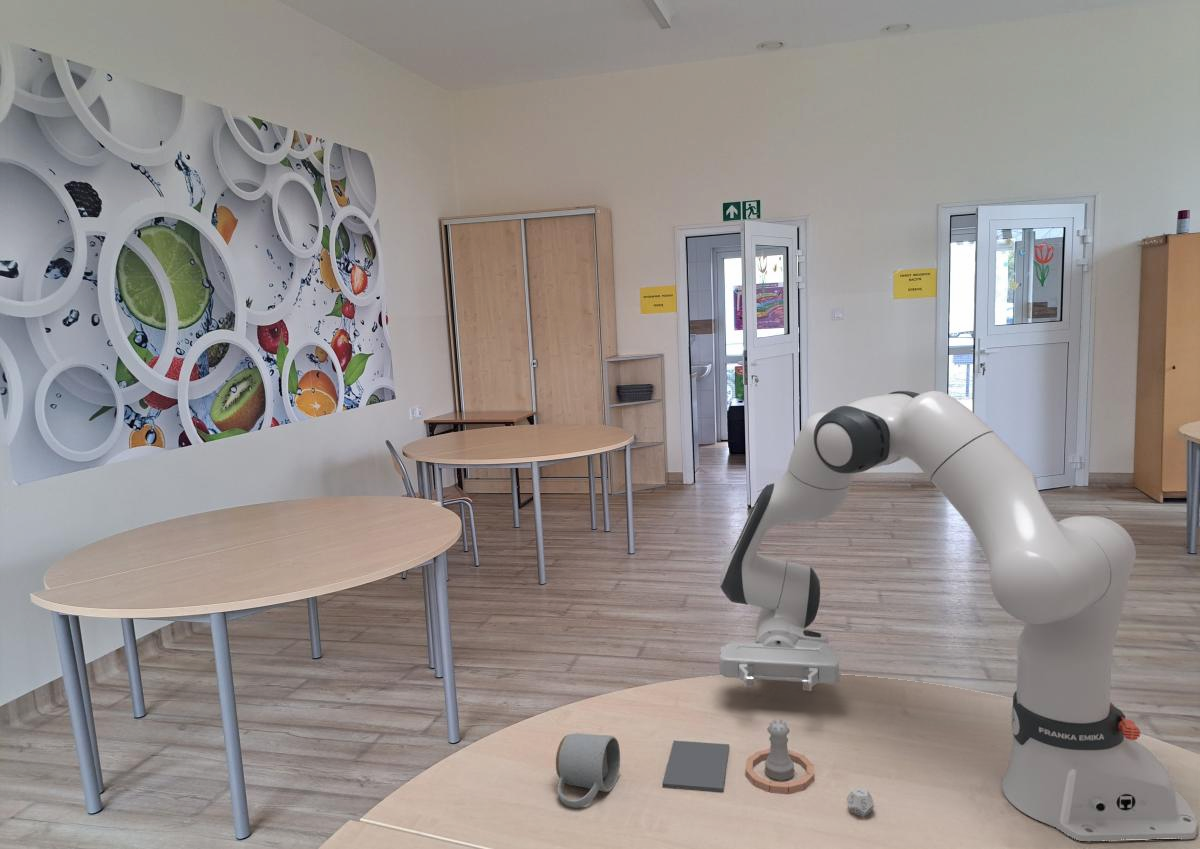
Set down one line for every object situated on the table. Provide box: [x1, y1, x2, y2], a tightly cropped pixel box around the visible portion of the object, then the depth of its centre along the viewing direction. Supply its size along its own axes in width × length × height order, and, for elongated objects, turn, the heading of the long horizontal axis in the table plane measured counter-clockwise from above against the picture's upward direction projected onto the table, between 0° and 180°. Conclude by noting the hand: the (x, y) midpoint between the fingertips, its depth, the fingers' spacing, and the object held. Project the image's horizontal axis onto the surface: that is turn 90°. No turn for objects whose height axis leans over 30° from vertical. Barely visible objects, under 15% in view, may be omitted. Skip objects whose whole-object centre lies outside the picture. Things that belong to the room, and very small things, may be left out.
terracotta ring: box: [745, 748, 815, 794], centre depth 121 cm, size 10×10×1 cm
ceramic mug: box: [555, 732, 621, 809], centre depth 120 cm, size 11×8×8 cm
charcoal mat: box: [661, 740, 730, 793], centre depth 124 cm, size 9×12×1 cm
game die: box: [846, 786, 875, 818], centre depth 111 cm, size 4×4×3 cm
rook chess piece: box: [764, 719, 795, 782], centre depth 121 cm, size 4×4×8 cm
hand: (777, 684), depth 132 cm, fingers open, 8 cm apart
